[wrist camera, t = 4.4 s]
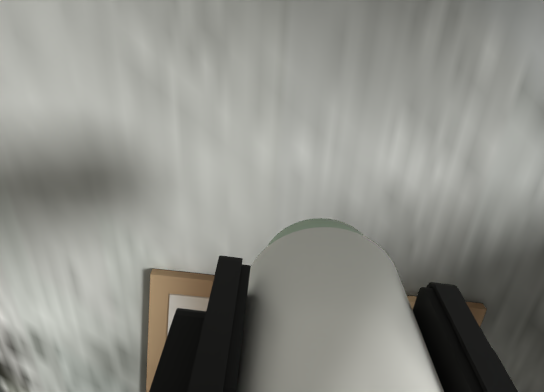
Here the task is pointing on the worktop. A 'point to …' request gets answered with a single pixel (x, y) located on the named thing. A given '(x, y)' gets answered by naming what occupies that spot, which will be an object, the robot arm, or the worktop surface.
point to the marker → (330, 317)
